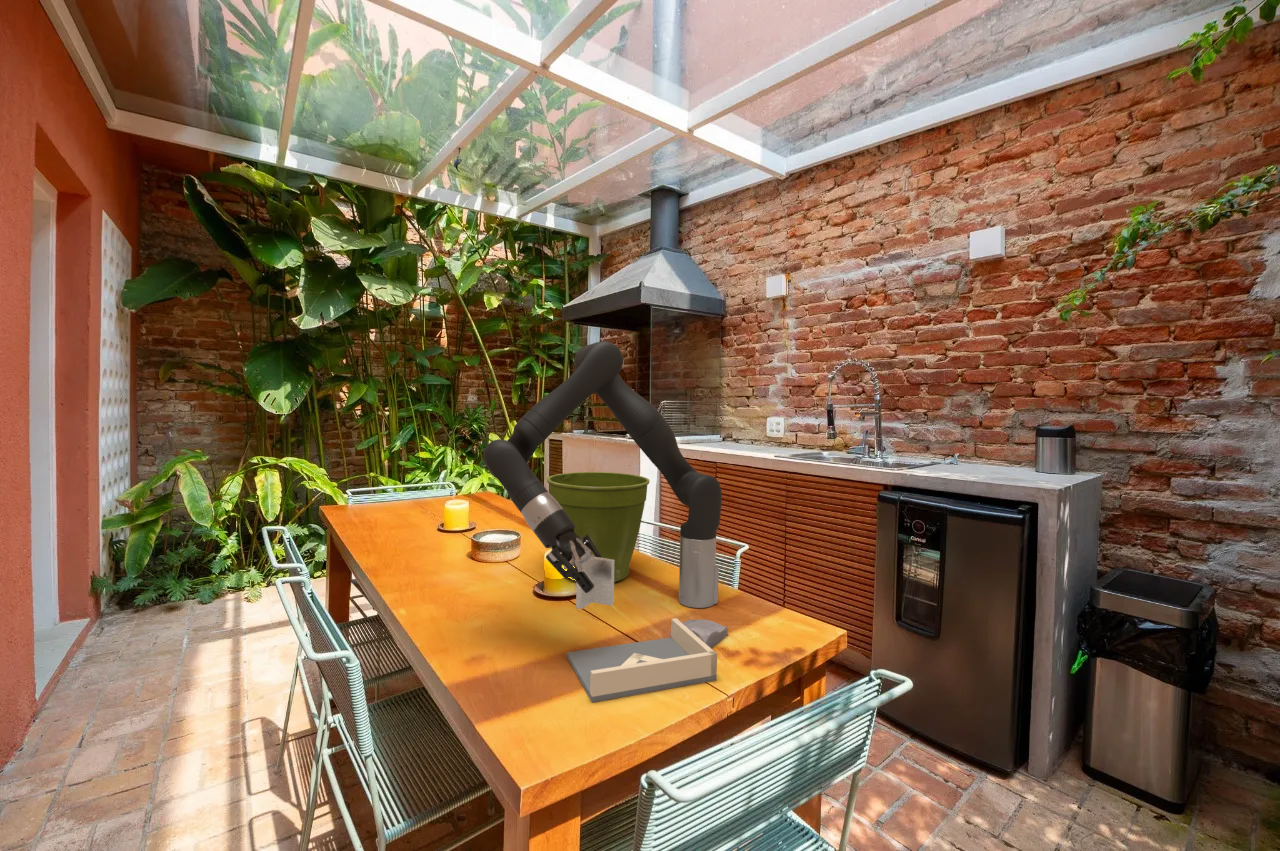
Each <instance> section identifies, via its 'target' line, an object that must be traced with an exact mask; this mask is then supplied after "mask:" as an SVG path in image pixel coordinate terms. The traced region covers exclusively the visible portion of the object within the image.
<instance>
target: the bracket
mask: <svg viewBox="0 0 1280 851" xmlns="http://www.w3.org/2000/svg"><path fill="white" fill-rule="evenodd" d="M614 561H615V560H613V559H606V558H600V557H593V556H591V557H588V558H586V559H584V560H582V561H580V562H579V563H578V564H579V565H580V567H581V569H582V572H583V571H584V572H585V574H586V575H587V576H588V578H589V579H590V580H591V582H592V583H593V584H594V588H593V589H592V590H591V591H590V592H588V593H585V592H584V591H583V590H582V588H581V587H580V586H579V584H578V583H577V582H576V590H575V591H576V594H575V596H576V597H575V598H576V599H575V601H576V602H575V609H578V610H582V609H584V608H586V607H587V606H588V605H590V604H591V603H594V604H600V605H606V606H610V607H611V606H612V605H614V604H615V603H614V602H615V582H614Z"/></svg>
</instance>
